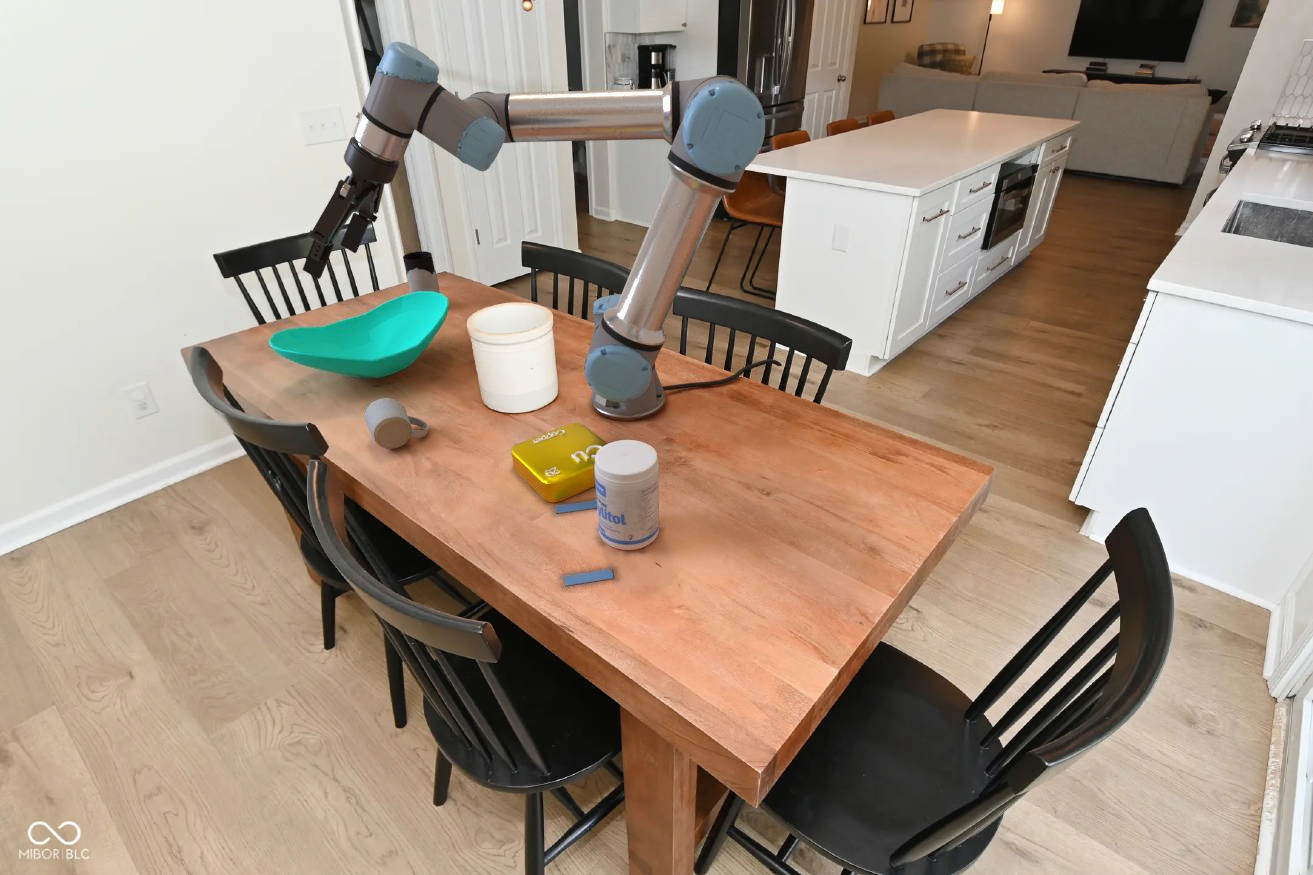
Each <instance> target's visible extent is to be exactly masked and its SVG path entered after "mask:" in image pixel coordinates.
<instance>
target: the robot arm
mask: <svg viewBox="0 0 1313 875" xmlns="http://www.w3.org/2000/svg"><path fill="white" fill-rule="evenodd" d="M439 74H440V68H439V66H438V64H437V63H436V62H435V61H434V60H432V59H431V58H430V57H429V56H428V55H426V54H425V53H424V52H423V51H420V49H418V48H416V47H414V46H412V45H410V44H408V43H405V42H403V41H393V42H390V43H389V44H388V45H387V47H386V49H385V51H384V53H383V54H382V57H381V60H380V62H379V64H378V65H377V66H376V69H375V73H374V75H373V76H374V77H373V79H372V82H371V84H370V86H369V90H368V92H367V95H366V98H365V101H364V104H363V106H362V109H361V111H360V112H359V111H358V112H357V113H356V114H355V118H356V119H357V121H356V124H355V127H354V129H353V136H352V137H350V139H349V141H348V144H347V146H346V150H345V152H344V155H343V161H344V163H345V164H346V165H347V166H348V168H349V169H350V171H351V174H350V175H347V176H346V177H345V179H344V180H343V179H340V180H339V181H338V182H337V184H336V187H335V190H334V192H333V194H332V196H331V197H330V199H329V201H328V202H327V204H326V206H325V207H324V209H323V212H322V213H321V215H319V218H318V220H317V222H316V223H315V225H314V227H313V228H312V229H310V231H309V233H308V235H309V238H311V239H312V240H313V241H312V244H311V247H310V249H309V251H308V253H307V256H306V259H305V262H304V264H303V267H302V270H301V271H304V272H305V273H307V274H309V275H310V276H312V277H314V278H316V279H317V280H320V279H321V278H322V276H323V274H324V271H325V269H326V266H327V263H328V262H329V259H330V256H331V254H332V251H333V249H334V247H335V244H334V241H336V240H335V239H336V238H337V236H338V235H339V234H340V232H341V231H342V229H343V228H344V226H345V225H346V223H347V222H348V220H349V219H350V220H349V222H348V224H347V228H346V229H345V231H344V232H345V233H344V235H343V237H342V240H341V242H340V246H341V247H343V248H345V249H347V250H348V251H350V252H352V253H353V254H356V253H357V252H358V250H359V248H360V245H361V243H362V241H363V239H364V236H365V234H366V231H367V230H368V227H369V225H370V222H372V223H375V222H377V220H378V216H377V214H378V213H379V209H380V206H381V202H382V197H383V192H384V189H385V185H388V184H391V183H392V182H393V181H394V179H395V177H396V174H397V171H398V170H399V167H400V164H401V163H400V161H401V160H403V158H404V157H405V154H406V152H407V149H408V146H409V144H410V142H411V140H412V137H413V134H414V132H415V131H416V132H417V133H419V134H420V135H422V136H424V137H425V138H426V139H428V140H430V141H431V142H432V143H434V144H436V145H437V146H438V147H439V148H441V149H443V150H444V151H447V152H448V153H449V154H450V155H452V156H453V157H455V158H456V159H458V160H459V161H460V162H461V163H463V164H465V165H467V166H469V167H471V168H473V169H475V170H477V171H478V172H486V171H488V170H489V169H490V168H491V166H492V164H493V163H494V161H495V160H496V158H497V157H498V155H499V153H500V151H501V149H502V147H503V146H504V144H511V143H512V144H513V143H537V142H538V143H542V142H543V143H544V142H545V143H548V142H590V141H591V142H592V141H593V142H594V141H595V142H596V141H635V140H637V141H638V140H639V141H640V140H641V141H642V140H643V141H644V140H664V141H665V142H666V143H667V144H669V146H671V147H670V150H669V152H668V154H667V156H666V161H667V166H669V167H668V168H669V170H670V176H669V178H668V181H667V183H666V185H665V187H664V191H663V193H662V195H661V196H660V197H661V198H660V200H659V202H658V205H657V207H656V208H655V212H654V214H653V216H652V219H651V222H650V224H649V226H648V229H647V232H646V234H645V236H644V238H643V240H642V244H641V246H640V248H639V251H638V253H637V255H636V258H635V261H634V263H633V265H632V268H631V271H630V272H629V274H628V277H627V280H626V282H625V284H624V287H623V290H622V292H621V293H619V294H610V295H605V296H602V297H600V298H598V299H596V300H595V301H594V303H593V306H592V307H593V308H592V309H593V310H592V315H593V318H594V319H593V323H594V324H593V325H594V327H593V332H592V337H591V340H590V345H589V348H588V352H587V356H586V357H585V360H584V364H583V366H584V368H583V369H584V377H585V380H586V383H587V385H588V386H589V387H590V390H592V393H591V407H592V410H593V411H594V412H595V413H596V414H597V415H599V416H600V417H602V418H605V419H609V420H613V421H618V422H620V421H621V422H633V421H639V420H643V419H647V418H650V417H652V416H654V415H656V414H657V413H659V412H660V411H661V410H662V409H663V408H664V406H665V402H666V399H665V398H666V395H665V392H666V391H667V392H668V391H673V390H681V389H689V388H701V387H703V388H704V387H712V386H713V387H714V386H719V385H724V384H727V383H729V382H732V381H734V380H735V379H737V378H739V377H740V376H741V375H742V374H744V373H745V372H747V371H749V370H752V369H755V368H758V367H761V366H765V365H770V364H771V365H775V366H776V367H782V366H783V364H782V363H781V362H780V361H778V360H777V359H773V358H768V359H763V360H759V361H757V362H754V363H750V364H748V365H746V366H744V367H742V368H741V369H739V370H738V371H737V372H735V373H733V374H732V375H730V376H728V377H725V378H721V379H717V380H710V381H709V380H708V381H698V382H687V383H677V384H670V385H663V384H662V382H661V380H660V377H659V374H658V371H657V369H656V361H657V358H658V356H659V355H660V352H661V350H662V348H663V346H664V344H665V342H666V338H667V335H666V333H665V330H664V328H663V325H664V323H665V321H666V319H667V316H668V314H669V312H670V310H671V308H672V306H673V304H674V301H675V300H676V296H678V292H679V290H680V289H681V286H682V284H683V282H684V279H685V277H686V275H687V273H688V270H689V269H690V266H691V264H692V262H693V260H694V258H695V256H696V253H697V251H698V249H699V247H700V244H701V242H702V240H703V238H704V236H705V233H706V231H707V229H708V227H709V225H710V223H711V220H712V218H713V216H714V214H715V211H716V210H717V207H718V206H719V203H720V201H721V199H722V198H723V197H725V196H727V195H729V194H732V193H734V192H735V191H736V190H737V188H738V185H739V183H740V181H741V179H742V177H743V174H744V172H745V170H746V168H747V167H748V166H750V164H751V163H752V162H754V160H755V159H756V157H757V156H758V155H759V152H760V151H761V149H762V146H763V143H764V140H765V134H766V117H765V113H764V112H765V111H764V109H763V106H762V104H761V102H760V100H759V98H758V96H756V94H755V93H754V92H753V91H752V90H751V89H750V88H748V86H747V85H746V84H745V83H743V81H741V80H739V79H738V78H736V77H733V76H730V75H723V74H719V75H711V76H705V77H702V78H696V79H688V80H687V79H686V80H670V81H668V83H667V84H665V86H664V87H661V88H635V89H634V88H632V89H600V90H599V89H598V90H595V89H594V90H571V91H570V90H568V91H567V90H565V91H564V90H561V91H533V92H531V91H530V92H529V91H528V92H511V93H509V92H507V93H506V92H501V93H495V92H493V91H477V92H474V93H473V94H470V95H469V96H468V97H466V98H464V99H461V98H460V97H458V96H457V95H456V94H454V93H452V92H451V91H450V90H448V89H447V88H445V87H444V86H443V85H442V84H441V83H439V82H438V80H439Z"/></svg>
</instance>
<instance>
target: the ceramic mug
mask: <svg viewBox="0 0 1313 875" xmlns="http://www.w3.org/2000/svg"><path fill="white" fill-rule="evenodd" d="M364 422H365V424H366V426H367V428H368V430H369V433H370V434H371V437H372V439H373V440H374V442H375V443H376V444H377V445H378V446H379V447H381V448H384V449H387V450H394V449H398V448H402V447H403V446H405V445H406V444H407V443H408V442H409V441H410V440H411V439H410V438H423V437H425V436H427V435H428V432H429V424H428V423H427V422H426V421H424V420H423V419H421V418H419V417H415V416H412V415H408V413H407V410H406V408H405V406H404V405H403V403H401V401H398V400H397V399H394V398H390V397H382V398H379V399H376V400H374V401H372V402H371V403H369V405H368V406H367V408H366V410H365V413H364ZM413 425H414V426H417V427H420V428H421V429H420V430H419V429H417V430H416V429H413V427H412V426H413Z"/></svg>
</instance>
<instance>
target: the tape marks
mask: <svg viewBox="0 0 1313 875" xmlns="http://www.w3.org/2000/svg"><path fill="white" fill-rule="evenodd" d="M593 509H597V499H595V500H587V501H581V502H574V503H567V504H560V505H555V511H556V514H557V515H558V514H564V513H573V512H579V511H585V510H593ZM613 579H615V577H614V572H613V569H612V568H608V569H607V568H606V569H601V570H595V571H589V572H581V573H576V574H570V575H564V585H565V587H569V586H575V585H576V586H577V585H581V584H589V583H594V582H601V581H606V580H607V581H608V580H613Z"/></svg>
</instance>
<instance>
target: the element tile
mask: <svg viewBox="0 0 1313 875" xmlns="http://www.w3.org/2000/svg"><path fill="white" fill-rule="evenodd" d="M607 444H609V443H608V442H606V440H604V439H603V438H602V437H600V436H599V435H598V434H596V433H595V432H594V431H593V430H591V429H590V428H588V426H586V425H584V424H583V423H580V422H573V423H569V424H566V425H564V426H561V427H558V428H555V429H553V430H551V431H548V432H545V433H543V434H540V435H537V436H535V437H531V438H529V439H527V440H524V441H522V442H519V443H516V444H514V445H513V446H512V447H511V449H510V453H511V458H512V464H513V469H514V471H515V472H516V473H517V474H518V476H520V477H521V479H522V480H524V481H525V482H526V483H527V484H528V485H529V486H530V487H531V488H532V489H533V490H534V491H535V492H536V493H537V494H538V495H539V496H540V497H541V498H542V499H543V500H544V501H546V502H548V503H558V502H562V501H564V500H566V499H569V498H571V497H574V496H576V495H578V494H581V493H582V492H584V491H587V490H590V489H592V488H594V487H596V484H595V456H596V454H597V452H598V451H599V450H600V449H601V448H602V447H603V446H605V445H607Z"/></svg>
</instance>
